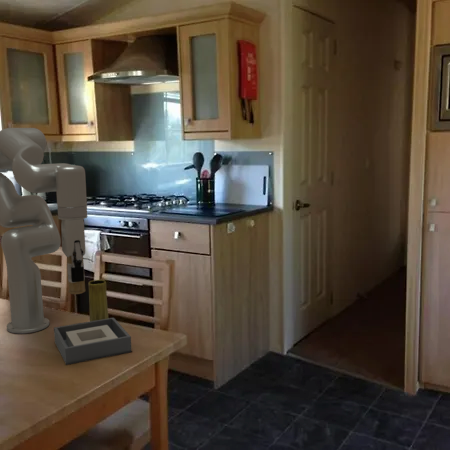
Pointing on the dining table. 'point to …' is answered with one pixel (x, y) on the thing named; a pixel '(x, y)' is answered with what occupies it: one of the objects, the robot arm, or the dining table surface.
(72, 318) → the dining table surface
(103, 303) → the vase
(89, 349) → the open box
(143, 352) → the dining table surface
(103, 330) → the block
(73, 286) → the sprinkles bottle
